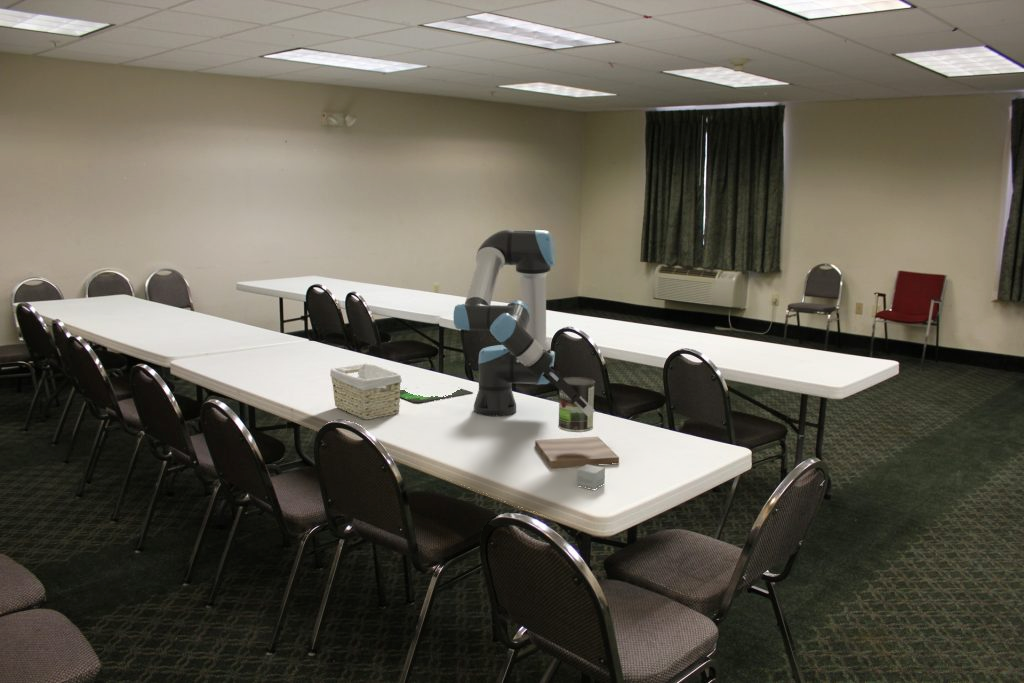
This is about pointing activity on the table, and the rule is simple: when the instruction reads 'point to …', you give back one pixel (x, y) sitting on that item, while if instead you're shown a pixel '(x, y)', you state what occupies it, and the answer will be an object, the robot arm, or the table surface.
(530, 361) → the robot arm
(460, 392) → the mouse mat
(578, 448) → the walnut board
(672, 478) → the table surface
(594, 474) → the small box
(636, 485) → the table surface
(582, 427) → the coffee can
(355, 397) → the storage basket
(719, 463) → the table surface
